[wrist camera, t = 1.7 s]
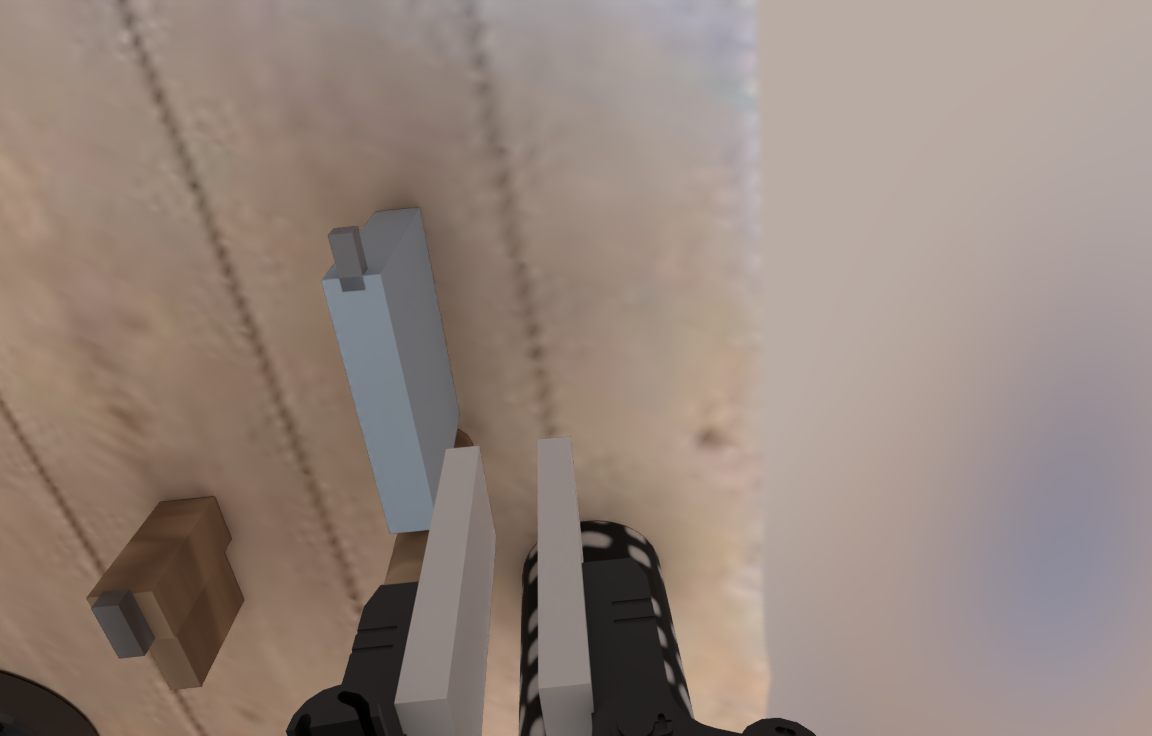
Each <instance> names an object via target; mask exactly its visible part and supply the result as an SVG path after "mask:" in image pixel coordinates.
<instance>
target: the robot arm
mask: <svg viewBox="0 0 1152 736" xmlns="http://www.w3.org/2000/svg"><path fill="white" fill-rule="evenodd" d="M537 482H538V689H539V695H540V701H541V707H542V713H543V719H544V725H545V731H546V736H816V735H815V734H814V733H813V732H812V731H810V730H808V729H807V728H805V727H804V726H802V725H800V724H799V723H797V722H793V721H790V720H785V719H782V718H770V719H761V720H759V721H757V722H755V723H753V724H751V725H749V726H747V727H746V729H745V730H744V731H743V733H742V734H741V733H736V732H731V731H727V730H722V729H717V728H713V727H710V726H707V725H704V724H701V723H699V722H698V721H696V720H694V719H693V718H691V717H689V716H688V715H687V714H686V713H685V712H684V711H683V710H682V709H681V708H680V707H679V706H678V704H677V703H676V701H675V700H674V698H673V697H672V694H671V691H670V688H669V684H668V679H667V674H666V669H665V664H664V659H663V654H662V649H661V643H660V638H659V633H658V628H657V623H656V620H655V613H654V608H653V603H652V598H651V593H650V588H649V583H648V578H647V575H646V574H645V572H644V571H643V570H642V569H641V567H640V566H639V565H638V564H637V562H636V561H635V560H634V559H633V557H632V558H622V559H613V560H603V561H593V562H584V563H583V551H582V540H581V528H580V519H579V510H578V501H577V492H576V483H575V473H574V464H573V455H572V446H571V437H570V436H569V437H559V438H549V439H539V440H537ZM495 546H496V535H495V530H494V524H493V519H492V513H491V508H490V502H489V497H488V491H487V486H486V480H485V475H484V469H483V464H482V458H481V453H480V447H479V446H471V447H462V448H452V449H446V452H445V457H444V462H443V467H442V472H441V476H440V481H439V486H438V491H437V496H436V501H435V506H434V511H433V516H432V521H431V526H430V530H429V535H428V540H427V545H426V550H425V555H424V560H423V565H422V570H421V575H420V580H419V581H417V582H407V583H397V584H388V585H380V587H379V588H378V589H377V591H376V592H375V593H374V594H373V596H372V597H371V598H370V600H369V601H368V602H367V604H366V605H365V606H364V609H363V612H362V616H361V619H360V623H359V626H358V630H357V631H358V634H357V635H356V636H355V640H354V643H353V647H352V654H350V657H349V661H348V664H347V668H346V671H345V675H344V678H343V682H342V684H341V685H338V686H334V687H331V688H328V689H325V690H323V691H321V692H319V693H318V694H316V695H315V696H313V697H312V698H310V699H309V700H307V701H306V702H305V703H304V704H303V705H302V706H301V707H300V708H299V710H298V711H297V712H296V713H295V714H294V715H293V717H292V719H291V721H290V723H289V725H288V728H287V730H286V733H287V736H481V734H482V721H483V707H484V694H485V681H486V667H487V654H488V640H489V627H490V613H491V600H492V587H493V573H494V560H495ZM0 736H97V735H96V734H95V732H94V731H93V729H92V728H91V726H90V725H89V724H88V723H87V722H86V721H85V719H84V718H83V717H82V716H81V715H80V714H78V713H77V712H76V711H75V710H74V709H73V708H71V707H70V706H69V705H68V704H66V703H65V702H63V701H62V700H60V699H59V698H57V697H56V696H54V695H52V694H51V693H49V692H47V691H45V690H43V689H41V688H39V687H37V686H35V685H33V684H30V683H28V682H25V681H23V680H20V679H18V678H15V677H12V676H9V675H5V674H2V673H0Z"/></svg>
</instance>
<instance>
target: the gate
mask: <svg viewBox="0 0 1152 736" xmlns="http://www.w3.org/2000/svg"><path fill="white" fill-rule="evenodd" d="M328 238H329V242H330V246H331V249H332V253H333V257H334V261H335V263H334V265H333V266H332V267H331V268H330V270H329V271H328V272H327V274H326V275H325V276H324V277H323V279H322V280H321V281H322V285H323V289H324V292H325V296H326V300H327V304H328V307H329V311H330V315H331V318H332V322H333V326H334V329H335V333H336V337H337V340H338V344H339V348H340V352H341V355H342V359H343V363H344V366H345V370H346V374H347V377H348V381H349V385H350V389H351V392H352V396H353V400H354V403H355V407H356V411H357V414H358V418H359V422H360V426H361V429H362V433H363V437H364V440H365V444H366V448H367V451H368V455H369V459H370V463H371V466H372V470H373V474H374V477H375V481H376V485H377V488H378V492H379V496H380V500H381V503H382V507H383V511H384V514H385V518H386V522H387V525H388V529H389V533H390V534H393V533H403V532H413V531H422V530H430V526H431V521H432V516H433V511H434V506H435V501H436V496H437V491H438V486H439V481H440V476H441V472H442V467H443V462H444V457H445V452H446V449H452V448H454V443H455V438H456V433H457V427H458V422H459V417H460V414H459V409H458V404H457V399H456V393H455V388H454V383H453V378H452V373H451V367H450V362H449V357H448V352H447V347H446V341H445V336H444V331H443V326H442V321H441V315H440V310H439V305H438V300H437V295H436V289H435V284H434V279H433V274H432V269H431V263H430V258H429V253H428V248H427V243H426V237H425V232H424V227H423V222H422V217H421V211H420V207H417V208H407V209H398V210H388V211H378V212H375V213H374V214H373V216H372V217H371V218H370V219H369V221H368V222H367V223H366V224H365V226H364V227H363V228H362V229H361V231H360V232H359V229H358V226H352V227H342V228H334V229H333V230H332V231H331V232H330V233H329V234H328Z"/></svg>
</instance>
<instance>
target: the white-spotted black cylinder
mask: <svg viewBox="0 0 1152 736" xmlns="http://www.w3.org/2000/svg"><path fill="white" fill-rule="evenodd" d="M580 528H581V540H582V551H583V563H584V562H593V561H603V560H613V559H622V558H632V557H633V559H634V560H635V561H636V562H637V564H638V565H639V566H640V567H641V569H642V570H643V571H644V572H645V574H646V575H647V578H648V583H649V588H650V593H651V598H652V603H653V608H654V613H655V620H656V623H657V628H658V633H659V638H660V643H661V649H662V654H663V659H664V664H665V669H666V674H667V679H668V684H669V688H670V691H671V694H672V697H673V698H674V700H675V701H676V703H677V704H678V706H679V707H680V708H681V709H682V710H683V711H684V712H685V713H686V714H687V715H688V716H689V717H691V718H693V719H694V715H693V710H692V706H691V702H690V697H689V693H688V688H687V684H686V679H685V675H684V670H683V666H682V661H681V657H680V652H679V648H678V644H677V639H676V635H675V630H674V626H673V621H672V617H671V612H670V608H669V603H668V599H667V594H666V590H665V586H664V581H663V577H662V572H661V568H660V563H659V559H658V556H657V554H656V552H655V550H654V548H653V546H652V545H651V544H650V543H649V542H648V541H647V540H646V539H645V538H644V537H643V536H641V535H640V534H639V533H637V532H636V531H634V530H632V529H630V528H628V527H625V526H623V525H619V524H615V523H611V522H602V521H589V522H580ZM694 720H695V719H694ZM519 736H546V731H545V725H544V719H543V713H542V707H541V701H540V695H539V689H538V543H537V544H536V545H535V547H534V548H533V549H532V551H531V552H530V553H529V555H528V557H527V559H526V561H525V564H524V569H523V574H522V614H521V658H520V701H519Z"/></svg>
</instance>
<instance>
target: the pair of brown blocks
mask: <svg viewBox="0 0 1152 736" xmlns="http://www.w3.org/2000/svg"><path fill="white" fill-rule="evenodd" d="M471 446H473V444H472V441H471V440H470V438H469V437H468V436H467V435H466V434H465V433H464V432H462V431H461V430H458V429H457V433H456V438H455V443H454V448H462V447H471ZM428 535H429V530H422V531H413V532H403V533H398V534H397V538H396V541H395V545H394V549H393V553H392V557H391V560H390V564H389V568H388V572H387V576H386V579H385V583H384V585H388V584H397V583H407V582H417V581H419V580H420V575H421V570H422V565H423V560H424V555H425V550H426V545H427V540H428ZM230 541H231V536H230V534H229V531H228V529H227V526H226V524H225V521H224V519H223V516H222V514H221V511H220V509H219V506H218V504H217V502H216V499H215V497H205V498H195V499H185V500H176V501H166V502H159V503H158V505H157V506H156V507H155V509H154V510H153V511H152V513H151V514H150V515H149V517H148V518H147V519H146V520H145V522H144V523H143V524H142V526H141V527H140V528H139V530H138V531H137V532H136V534H135V535H134V536H133V538H132V539H131V540H130V541H129V543H128V544H127V545H126V547H125V548H124V549H123V551H122V552H121V553H120V555H119V556H118V557H117V558H116V560H115V561H114V562H113V564H112V565H111V566H110V568H109V569H108V570H107V572H106V573H105V574H104V575H103V577H102V578H101V579H100V581H99V582H98V583H97V585H96V586H95V587H94V589H93V590H92V591H91V592H90V594H89V595H88V596H87V598H86V599H87V601H88V602H89V604H90V606H91V609H92V611H93V613H94V615H95V617H96V618H97V620H98V622H99V624H100V626H101V627H102V629H103V631H104V633H105V634H106V636H107V638H108V640H109V642H110V643H111V645H112V647H113V649H114V651H115V652H116V654H117V656H118V658H128V657H137V656H145V655H146V653H147V651H148V650H150V652H151V654H152V656H153V658H154V659H155V661H156V663H157V665H158V667H159V669H160V671H161V673H162V675H163V677H164V679H165V680H166V682H167V684H168V686H169V688H170V690H176V689H185V688H195V687H202V684H203V682H204V680H205V678H206V676H207V674H208V672H209V670H210V668H211V666H212V664H213V662H214V660H215V658H216V656H217V654H218V652H219V650H220V648H221V646H222V644H223V642H224V640H225V638H226V636H227V634H228V632H229V630H230V628H231V626H232V624H233V622H234V620H235V618H236V616H237V614H238V612H239V610H240V608H241V606H242V603H243V601H244V598H243V596H242V594H241V591H240V589H239V586H238V584H237V582H236V579H235V577H234V574H233V572H232V570H231V567H230V565H229V562H228V560H227V558H226V555H225V553H224V552H225V550H226V548H227V546H228V545H229V543H230Z"/></svg>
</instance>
